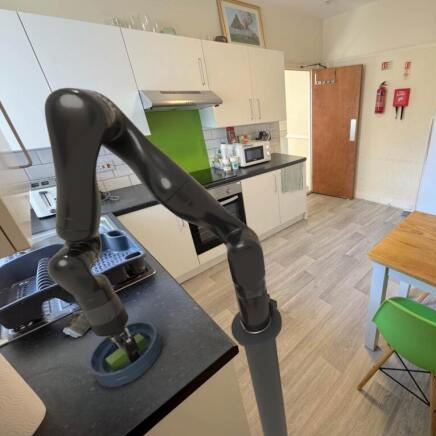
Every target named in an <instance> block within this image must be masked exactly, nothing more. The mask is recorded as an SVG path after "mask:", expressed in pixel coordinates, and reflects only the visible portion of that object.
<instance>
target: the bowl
mask: <svg viewBox="0 0 436 436" xmlns="http://www.w3.org/2000/svg"><path fill="white" fill-rule="evenodd" d="M125 326H126V327H127V329H128V330H129V334H130V335H132V336H136V335H137V334H138V333H139V334H140V335H141V336H143V337H144V338H145V340H146V342H147V344H148V347H147V348H146V349H145V350H143V351H142V352H141V353H140V354H139V356H140V357H139V358H138V359H137V360H136V361H135V362H133V363H131V362H129V363H128V364H127V365H126V366H124V367H123V368H122V369H121V370H118V371H116V372H115V371H114V370H113V369H112V368H111V367H110V365H109V364H108V362H107V361H106V358H107V357H109V356H110V355H111V354H112V353H114V352H115V351H116V350H117V348H116V346H115V345H114V343H112V342H111V341H110V340H109V339H108V338H107V336H104V338H103V339H101V340H100V342H99V343H97V345H96V346H95V347H94V348H93V350H92V351H91V353H90V355H89V359H88V362H87V365H88V369H89V372H90V373H91V375H92V376H93V378H94V379H95V380H96V381H97V382H98V384H99V385H100V386H103V387H107V388H115V387H121V386H123V385H126V384H128V383H131V382H133V381H134V380H136V379H137V378H139V377H140V376H142V375H143V374H144V373H145V372H146V371H148V370H149V369H150V368H151V367H152V365H154V363H155V361H156V360H157V359H158V357H159V355H160V353H161V350H162V339H161V337H160V335H159V333H158V330H157V328H156V326H155V325H154V324H153V323H151V322H149V321H144V320H142V321H133V322H131V323H128V324H127V323H126V324H125ZM125 326H124V327H125ZM127 337H128V336H127Z"/></svg>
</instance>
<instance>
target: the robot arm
mask: <svg viewBox="0 0 436 436" xmlns="http://www.w3.org/2000/svg"><path fill="white" fill-rule="evenodd" d="M44 118H45V124H46V129H47V134H48V138H49V144H50V149H51V156H52V162H53V167H54V168H53V170H54V176H55V191H56V198H55V199H56V201H55V202H56V203H55V225H54V226H55V233H56V235H57V237H59V238H60V239H61V240H63V241H64V245H63V247H62V248H61V249H59V251H57V252H56V253H55V254H54V255H53V256H52V257H51V258H50V259H49V261H48V262H47V267H46V268H47V272H48V275H49V277H50V279H51V280H52V281H53V282H54V283H55V284H57V285H58V286H59V287H61V288H62V289H63V290H65V291H66V292H67V293H69V294H70V295H72V296H73V298H74V300H75V301H76V303H77V304H78V306H79V308H80V310H82V312H83V315H84V317H85V318H86V320H87V322H88V323H89V325H90V326H91V327H90V328H91V330H92V331H93V333H94V334H95V336H97V337H102V338H103V337H104V338H105V337H106V336H107V338H108V339H109V340H110V341H111V342H112V343H114V345H115V346H116V348H117V350H118V349H120V350H123V351H124V352H125V355H127V357H128V358H129V360H130V362H131V363H133V362H135V361H136V360H137V359H138V358H139V357H140V356H139V354H138V352H137V351H138V350H139V347H138V345H137V343H136V341H135V339H134V336H132V335H130V334H129V330H128V329H127V327H126V326H125V325H127V323H128V322H129V314H128V312H127V309H126V308H125V306H124V304H123V303H122V300H121V298H120V296H119V295H118V294H117V293H116V291H115V289H114V287H113V285H112V283H111V282H110V279H109V278H108V277H107V275H105V274H104V273H93V271H92V269H93V267H94V266H95V265H96V263H97V262H98V261H99V260H100V257H101V254H102V249H103V248H102V247H103V246H102V245H103V244H102V239H101V233H100V225H101V219H102V218H101V216H102V196H101V191H100V187H99V183H98V178H97V165H98V160H99V156H100V151H101V148H102V147H104V148H105V150H108V151H109V152H110V153H112V154H113V155H114V156H116V157H117V158H118V159H120V160H121V161H122V162H123V163H124V164H125V165H126V166H128V168H129V169H130V171H132V172H133V174H134V175H135V176H136V177H137V179H138V180H139V182H140V183H141V184H142V185H143V187H144V188H145V190H146V191H147V192H148V194H150V195H151V197H152V198H153V199H154V200H155V201H156V202H158V203H159V205H161V206H163V208H165V209H167V210H168V211H169V212H170V213H171V214H173V215H175V216H176V217H177V218H179V219H181V221H182V220H183V221H185V222H187V223H190V224H193V225H195V226H198V227H200V228H203V229H205V230H207V231H209V232H210V233H211V234H213V235H214V236H215V237H216V238H217V239H219V241H220V242H222V244H223V245H224V246H225V247H226V248H225V249H226V258H227V265H228V268H229V272H230V276H231V280H232V283H233V287H234V288H233V289H234V292H235V297H236V301H237V302H236V303H237V306H238V312H240V316H241V321H242V322H241V321H240V322H241V324H242V327H243V330H244V331H245V332H246V333H248V334H252V335H256V334H260V333H263V332H264V331H266V330H267V329H268V328H269V326H270V324H271V317H272V312H274V311H275V310H276V308H277V309H278V301H277V300H276V299H273V298H272V297H271V295H270V294H269V293H268V287H267V282H266V265H265V256H264V250H263V246H262V243H261V241H260V237H259V236H258V234H257V233H256V232H255V230H254V229H252V228H251V227H249V226H248V225H247V224H245V223H244V222H243V221H241V220H240V219H239V218H238V217H236V216H234V215H233V214H232V213H231V212H229V210H227V209H226V208H225V207H224V206H223V204H222V203H220V202H219V200H217V199H216V198H215V197H214V196H213V195H212V194H211V193H210V192H209V191H208V190H207V189H206V188H205V187H204V186H203V185H202V184H201V183H200V182H199V181H198V180H197V179H195V177H194V176H192V175H191V174H190V173H189V172H188V171H186V170H185V169H184V168H183V167H182V166H181V165H180V164H178V162H176V161H175V160H174V159H173V158H172V157H170V156H169V155H168V154H166V152H164V151H163V150H161V149H160V148H159V147H158V146H157V145H155V144H154V143H153V142H152V141H151V140H150V139H149V138H148V137H147V136H146V135H145V134H144V133H143V132H142V131H141V130H140V128H138V127H137V126H136V124H135V123H134V122H133V121H131V118H129V117H128V116H127V115H126V114H125V112H123V110H122V109H121V108H120V107H119V106H118V105H117V104H116V103H115V102H114V101H113V100H111V98H109V97H107V96H106V95H104V94H102V93H101V92H98V91H96V90H92V89H85V88H79V87H61V88H58V89H55V90H53V91H52V92H50V93H49V95H48V96H47V97H46V99H45V102H44ZM124 326H125V327H124ZM127 336H128V337H127Z"/></svg>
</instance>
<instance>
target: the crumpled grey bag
mask: <svg viewBox="0 0 436 436" xmlns="http://www.w3.org/2000/svg"><path fill="white" fill-rule="evenodd" d="M72 316H73V318H72V320H70V322H69V323H67V324H66V325H65V327H64V328H63V330H62V333H64V335H65V337H68V336H71V338H75V339H76V338H77V339H78V337H83V336H84V335H85V334H86V333H87V331H89V329H90V328H91V326H90V325H89V323H88V322H87V320H86V318H85V317H84V315H83V312H82V309H80V310H77V311H72Z"/></svg>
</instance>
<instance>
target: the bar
mask: <svg viewBox="0 0 436 436" xmlns="http://www.w3.org/2000/svg"><path fill="white" fill-rule="evenodd" d="M134 339H135V341H136V343H137V345H138V347H139V350H138V351H137V352H138V354H140V353H141V352H142V351H143V350H145V349H146V348H147V347H148V344H147V342H146V340H145V338H144V337H143V336H141V335H140V334H139V333H138V334H137V335H136V336H134ZM106 361H107V362H108V364H109V365H110V367H111V368H112V369H113V370H114V371H115V372H116V371H118V370H121V369H122V368H123V367H124V366H126V365H127V364H128V363H129V362H130V360H129V358H128V357H127V355H125V352H124V351H123V350H120V349H118V350H116V351H115V352H114V353H112V354H111V355H110V356H109V357H107V358H106Z"/></svg>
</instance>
